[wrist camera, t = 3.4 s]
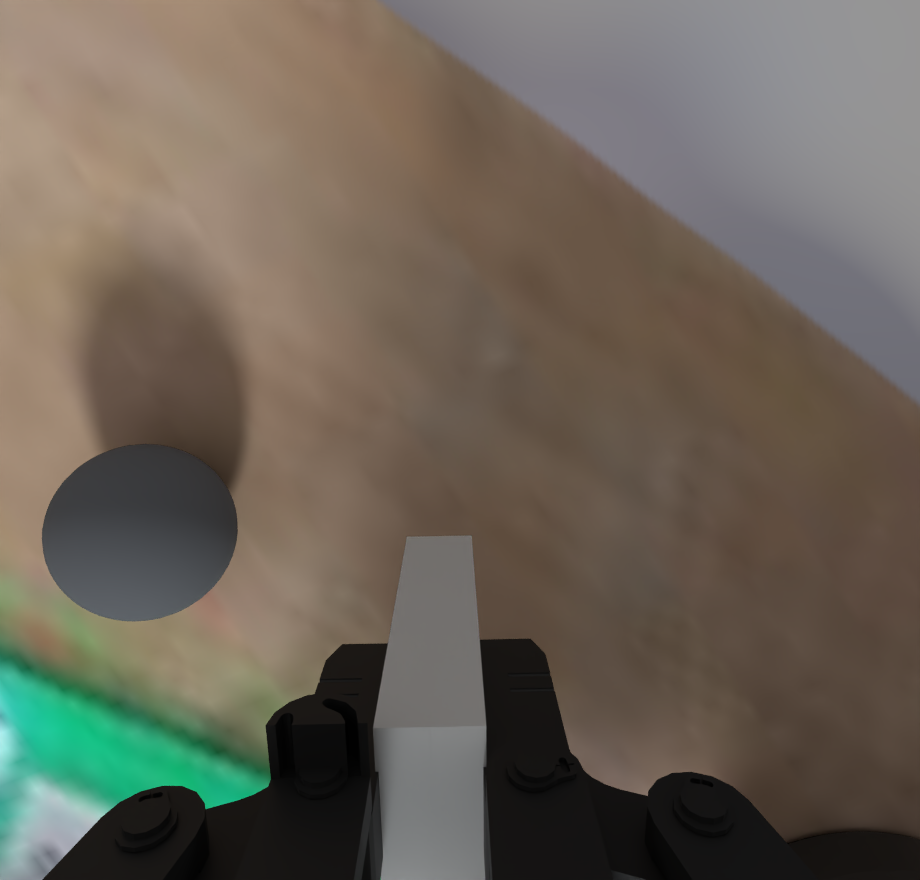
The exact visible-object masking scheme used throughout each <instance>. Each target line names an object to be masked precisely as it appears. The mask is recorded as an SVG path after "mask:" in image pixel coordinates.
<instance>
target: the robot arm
mask: <svg viewBox="0 0 920 880" xmlns="http://www.w3.org/2000/svg"><path fill="white" fill-rule="evenodd" d="M266 733H267V743H268V753H269V763H270V773H271V781H270V783H269V786H268V787H267V788H265V789H263V790H262V791H260V792H258V793H256V794H254V795H252V796H249V797H246V798H244V799H241V800H238V801H234V802H231V803H227V804H223V805H220V806H216V807H212V808H209V809H205V803H204V802H203V800H202V799H201V798H200V796H199V795H198V793H197V792H195V791H193V790H190V789H188V788H185V787H183V786H160V787H156V788H152V789H149V790H145V791H141V792H139V793H137V794H135V795H133V796H131V797H129V798H127V799H125V800H123V801H121V802H120V803H118V804H117V805H116V806H115V807H113V808H112V809H111V810H110V811H109V812H107V813H106V814H105V815H104V816H103V817H101V818H100V820H99V821H98V822H97V823H96V824H95V825H94V826H93V827H92V828H91V829H90V830H89V831H88V832H87V833H86V834H85V835H84V836H83V837H82V838H81V840H80V841H79V842H78V843H77V844H76V845H75V846H74V847H73V848H72V849H71V850H70V851H69V852H68V853H67V854H66V855H65V856H64V857H63V859H62V860H61V861H60V862H59V863H58V864H57V865H56V866H55V867H54V868H53V869H52V870H51V871H50V872H49V873H48V874H47V875H46V876H45V877H44V879H43V880H380V878H381V880H920V840H918V839H915V838H911V837H907V836H902V835H897V834H890V833H880V832H843V833H834V834H827V835H822V836H816V837H812V838H808V839H803V840H800V841H797V842H793V843H790V844H787V843H786V842H785V841H784V840H783V838H782V837H781V836H780V835H779V834H778V833H777V832H776V831H775V829H774V828H773V827H772V826H771V825H770V824H769V823H768V821H767V820H766V819H765V818H764V817H763V816H762V815H761V814H760V812H759V811H758V810H757V809H756V808H755V807H754V806H753V805H752V803H751V802H750V801H749V800H748V799H747V798H745V797H744V796H743V795H742V794H741V793H740V792H738V791H737V790H736V789H735V788H734V787H732V786H730V785H728V784H726V783H724V782H722V781H720V780H718V779H716V778H714V777H712V776H707V775H703V774H698V773H694V772H682V773H671V774H669V775H667V776H665V777H662V778H660V779H658V780H657V781H656V782H655V783H654V785H653V786H652V787H651V788H650V790H649V791H648V796H645V795H641V794H636V793H632V792H628V791H624V790H620V789H617V788H614V787H611V786H608V785H605V784H603V783H601V782H600V781H598V780H596V779H594V778H592V777H591V776H590V775H588V774H587V773H586V772H585V771H584V770H583V768H582V766H581V764H580V762H579V761H578V759H577V758H576V757H575V756H574V755H573V754H572V753H571V752H570V750H569V746H568V742H567V738H566V734H565V730H564V726H563V722H562V718H561V714H560V710H559V706H558V702H557V699H556V695H555V691H554V687H553V683H552V679H551V676H550V671H549V667H548V663H547V659H546V655H545V653H544V652H543V651H542V650H541V649H540V648H539V647H538V646H537V645H536V644H535V643H534V642H533V641H532V640H531V639H493V640H480V638H479V625H478V612H477V599H476V586H475V573H474V560H473V547H472V535H469V536H413V537H407V539H406V545H405V550H404V556H403V562H402V567H401V573H400V579H399V584H398V590H397V595H396V601H395V607H394V612H393V618H392V624H391V629H390V635H389V641H388V643H387V644H342V645H341V646H340V647H339V648H338V649H337V650H336V651H335V652H334V653H333V654H332V655H331V656H330V657H329V658H328V659H327V660H326V662H325V665H324V668H323V671H322V674H321V677H320V683H318V686H317V689H316V692H315V694H313V695H307V696H304V697H302V698H299V699H296V700H294V701H291V702H289V703H288V704H286V705H285V706H283V707H282V708H281V709H279V710H278V711H276V712H275V713H274V714H273V716H272V717H271V719H270V720H269V721H268V723H267V724H266Z"/></svg>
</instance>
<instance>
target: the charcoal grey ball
mask: <svg viewBox="0 0 920 880" xmlns="http://www.w3.org/2000/svg"><path fill="white" fill-rule="evenodd" d="M237 532H238V530H237V514H236V509H235V505H234V502H233V499H232V497H231V495H230V492H229V490H228V489H227V487H226V485H225V484H224V482H223V481H222V480H221V478H220V477H219V476H218V475H217V474H216V473H215V472H214V471H213V470H212V469H211V468H210V467H209V466H208V465H207V464H205V463H204V462H203V461H201V460H200V459H198V458H196V457H195V456H193V455H191V454H189V453H187V452H184V451H182V450H179V449H175V448H172V447H168V446H162V445H154V444H141V445H129V446H124V447H119V448H116V449H113V450H110V451H107V452H104V453H102V454H100V455H98V456H96V457H94V458H92V459H90V460H89V461H87V462H85V463H84V464H83V465H81V466H80V467H78V468H77V469H76V470H75V471H74V472H73V473H72V474H71V475H70V476H69V477H68V478H67V479H66V480H65V481H64V482H63V483H62V484H61V486H60V487H59V488H58V490H57V491H56V493H55V495H54V496H53V498H52V500H51V502H50V504H49V506H48V509H47V512H46V515H45V519H44V524H43V529H42V544H43V553H44V557H45V561H46V564H47V567H48V570H49V572H50V574H51V576H52V577H53V579H54V581H55V582H56V584H57V585H58V586H59V588H60V589H61V590H62V591H63V592H64V593H65V594H66V595H67V596H68V597H69V598H70V599H71V600H72V601H73V602H75V603H76V604H78V605H79V606H81V607H82V608H84V609H86V610H88V611H90V612H92V613H94V614H97V615H99V616H103V617H106V618H110V619H115V620H121V621H145V620H153V619H158V618H162V617H165V616H168V615H171V614H174V613H177V612H179V611H181V610H183V609H185V608H187V607H189V606H190V605H192V604H193V603H195V602H196V601H198V600H199V599H201V598H202V597H203V596H204V595H205V594H206V593H207V592H209V591H210V590H211V589H212V588H213V587H214V586H215V584H216V583H217V582H218V581H219V579H220V578H221V577H222V575H223V573H224V572H225V570H226V568H227V567H228V565H229V563H230V560H231V558H232V556H233V552H234V549H235V545H236V541H237Z"/></svg>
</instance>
